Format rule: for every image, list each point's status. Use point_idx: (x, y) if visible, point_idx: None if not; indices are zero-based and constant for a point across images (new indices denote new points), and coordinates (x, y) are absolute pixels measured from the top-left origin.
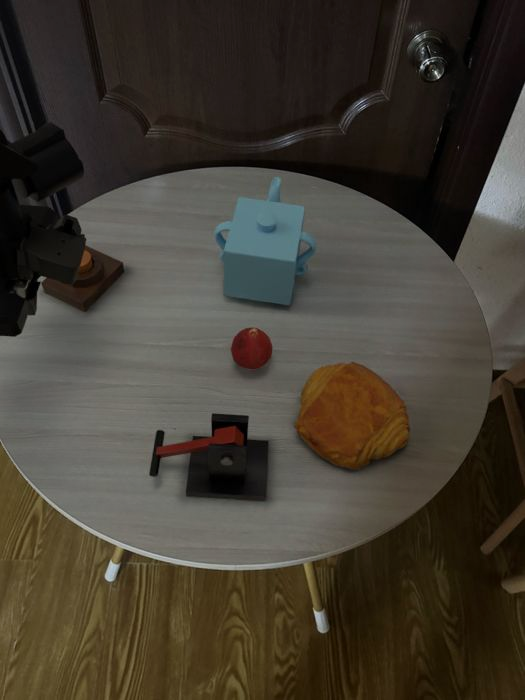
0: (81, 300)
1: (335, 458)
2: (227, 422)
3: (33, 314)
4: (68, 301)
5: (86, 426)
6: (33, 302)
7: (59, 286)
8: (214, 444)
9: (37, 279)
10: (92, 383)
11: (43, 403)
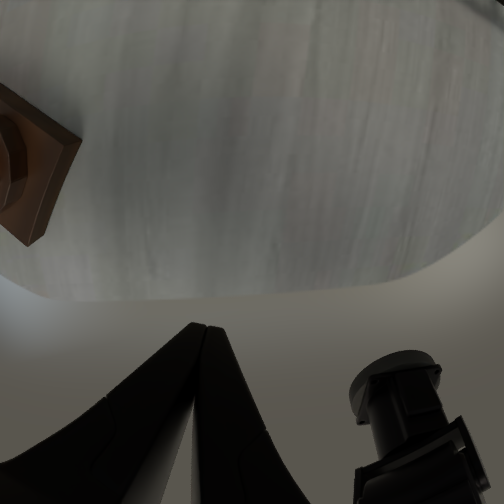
0: (57, 150)
1: None
2: None
3: (225, 337)
4: (58, 182)
5: (412, 128)
6: (220, 402)
7: (28, 207)
8: None
9: (52, 442)
10: (299, 106)
11: (338, 217)
